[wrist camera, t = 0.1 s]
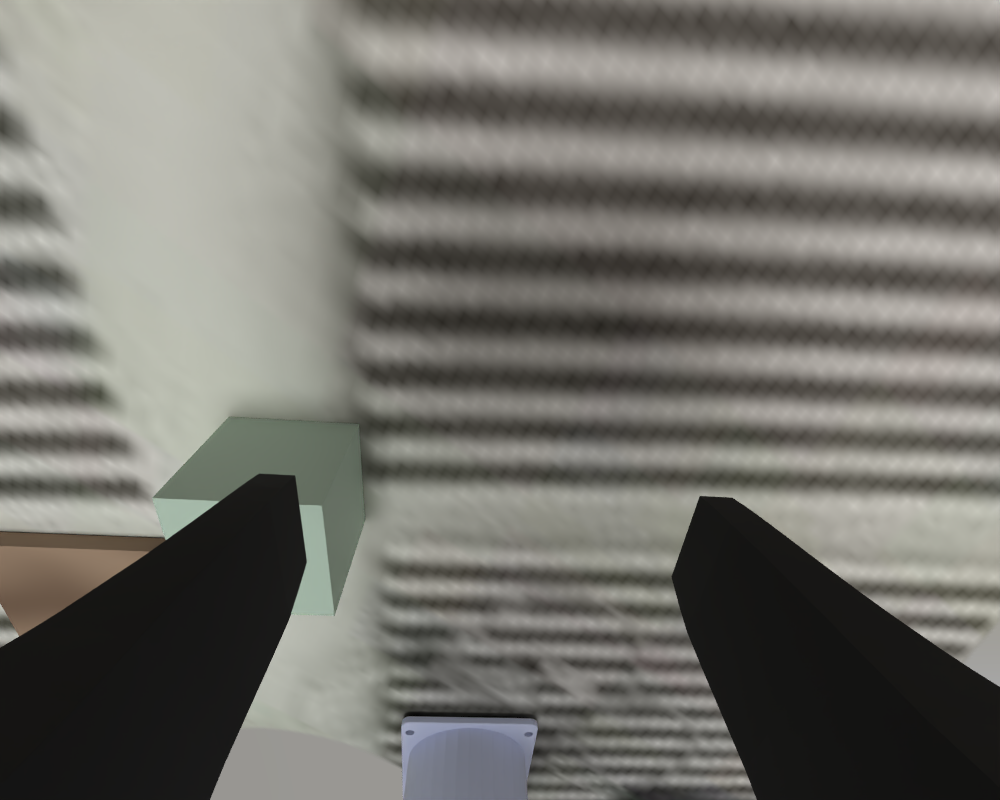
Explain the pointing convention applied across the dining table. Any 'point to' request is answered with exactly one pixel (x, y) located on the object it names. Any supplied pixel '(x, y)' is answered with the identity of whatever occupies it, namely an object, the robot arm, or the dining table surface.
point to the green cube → (320, 485)
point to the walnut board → (59, 570)
